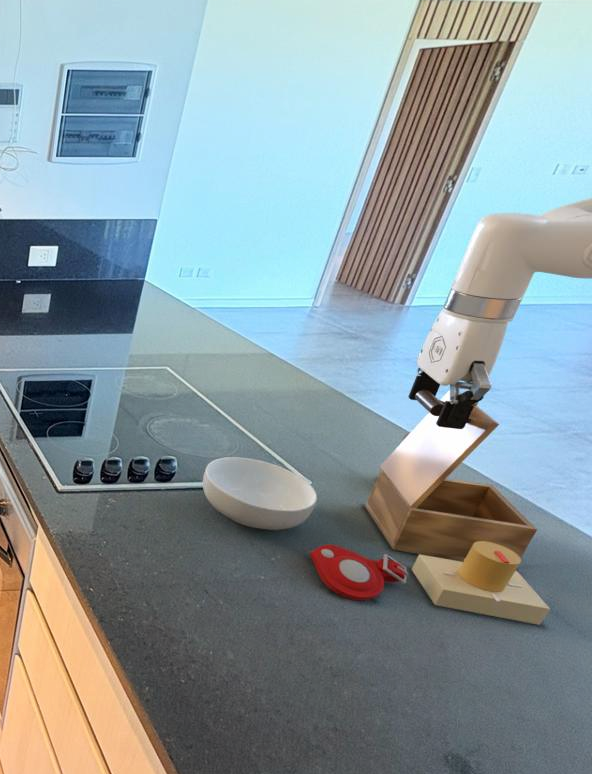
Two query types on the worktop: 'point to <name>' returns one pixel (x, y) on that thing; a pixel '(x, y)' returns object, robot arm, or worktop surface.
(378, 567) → the tracker holder
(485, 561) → the lock knob
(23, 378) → the worktop surface
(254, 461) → the cereal bowl
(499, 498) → the chest
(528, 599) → the lock plate
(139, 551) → the worktop surface
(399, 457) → the hinged box cover
